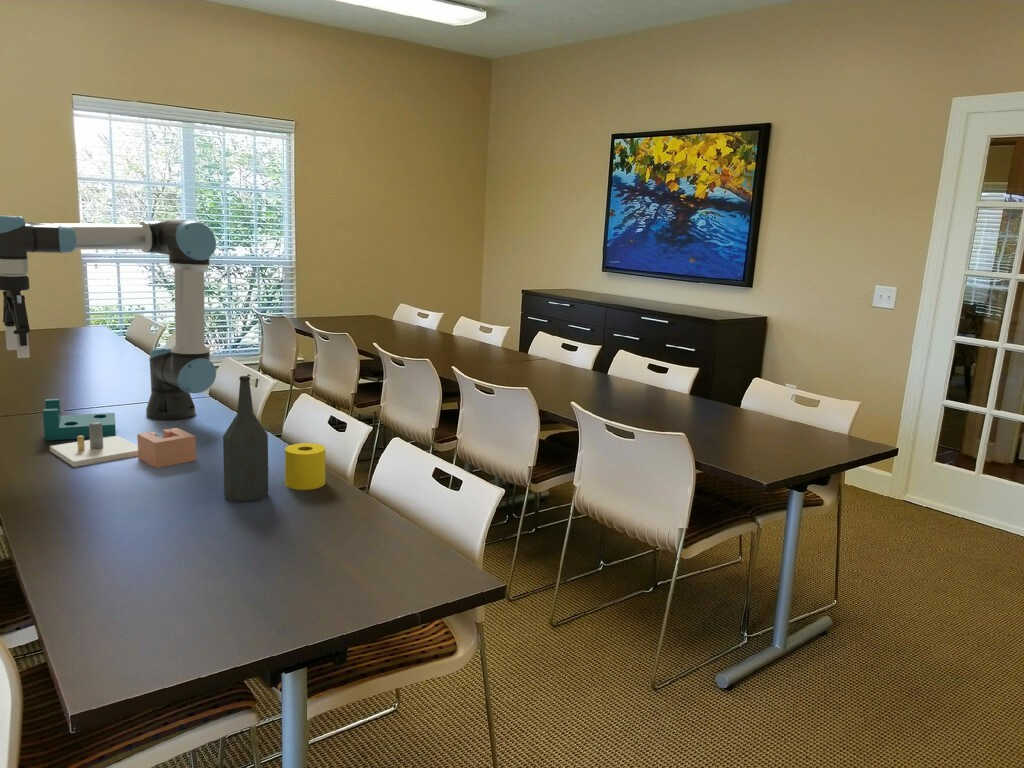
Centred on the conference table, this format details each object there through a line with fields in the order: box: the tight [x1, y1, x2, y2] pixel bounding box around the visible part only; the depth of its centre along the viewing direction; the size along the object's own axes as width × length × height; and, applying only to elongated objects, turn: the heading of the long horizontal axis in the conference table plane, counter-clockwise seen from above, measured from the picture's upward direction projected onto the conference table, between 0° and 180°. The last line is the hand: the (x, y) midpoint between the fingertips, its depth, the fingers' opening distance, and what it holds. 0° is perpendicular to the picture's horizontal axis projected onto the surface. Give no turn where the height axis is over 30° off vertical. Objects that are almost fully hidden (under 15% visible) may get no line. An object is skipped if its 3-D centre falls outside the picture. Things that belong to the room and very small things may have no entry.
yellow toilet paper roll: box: [284, 442, 326, 491], centre depth 198 cm, size 10×10×9 cm
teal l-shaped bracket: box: [42, 398, 117, 441], centre depth 228 cm, size 18×11×10 cm, turn 117°
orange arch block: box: [137, 427, 197, 469], centre depth 211 cm, size 11×11×7 cm
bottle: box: [222, 375, 269, 503], centre depth 185 cm, size 10×10×30 cm
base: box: [49, 422, 138, 468], centre depth 213 cm, size 18×18×8 cm
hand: (18, 353), depth 208 cm, fingers open, 13 cm apart
